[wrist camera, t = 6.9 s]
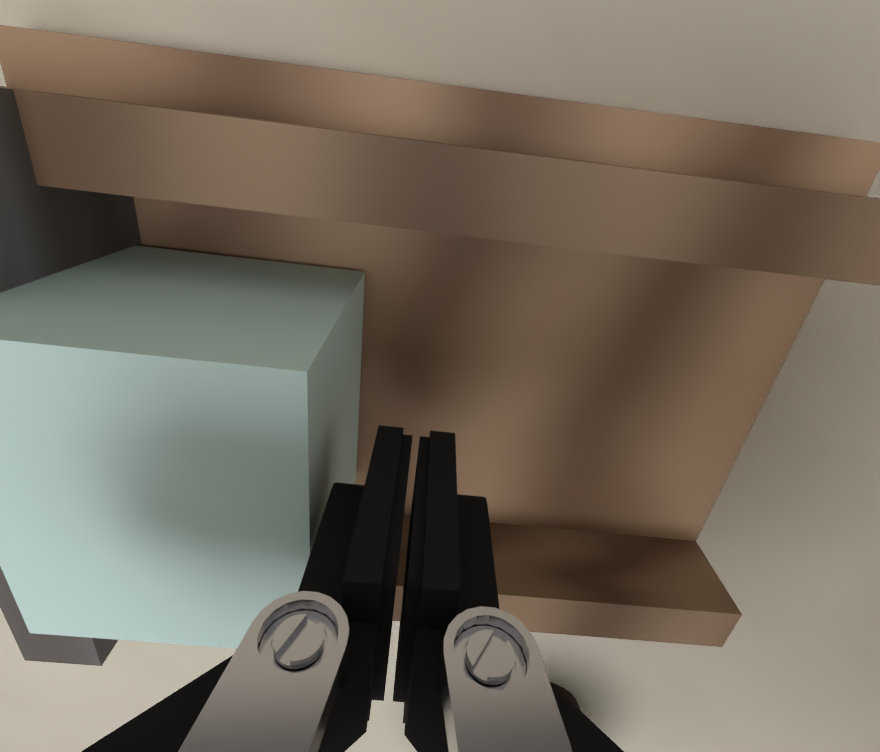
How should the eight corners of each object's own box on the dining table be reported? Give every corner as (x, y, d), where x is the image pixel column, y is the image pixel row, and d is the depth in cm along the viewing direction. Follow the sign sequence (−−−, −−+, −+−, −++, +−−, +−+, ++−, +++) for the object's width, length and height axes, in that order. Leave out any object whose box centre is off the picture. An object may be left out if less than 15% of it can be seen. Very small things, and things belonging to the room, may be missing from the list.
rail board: (852, 143, 12) (1179, 149, 7) (657, 567, 20) (741, 736, 14) (32, 34, 11) (-351, -62, 6) (144, 522, 19) (18, 685, 13)
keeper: (365, 271, 13) (306, 372, 7) (356, 478, 16) (311, 654, 10) (135, 244, 12) (-104, 329, 7) (173, 461, 15) (29, 633, 10)
